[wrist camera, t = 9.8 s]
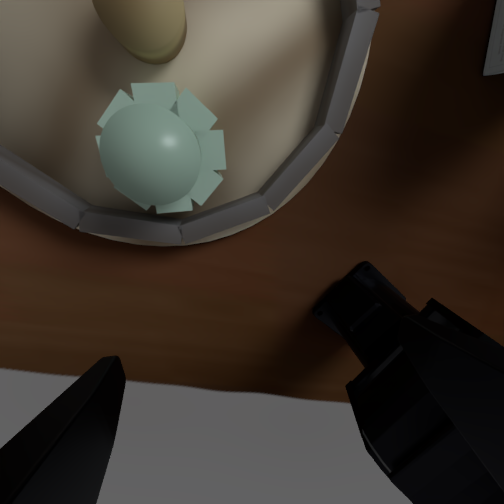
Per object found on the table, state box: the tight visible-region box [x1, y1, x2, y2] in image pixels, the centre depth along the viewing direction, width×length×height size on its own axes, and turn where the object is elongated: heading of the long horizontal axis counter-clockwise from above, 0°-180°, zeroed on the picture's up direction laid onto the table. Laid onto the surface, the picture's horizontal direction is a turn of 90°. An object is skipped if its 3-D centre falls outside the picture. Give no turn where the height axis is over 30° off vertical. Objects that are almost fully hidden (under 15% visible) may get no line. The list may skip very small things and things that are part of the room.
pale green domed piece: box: [95, 82, 226, 214], centre depth 12 cm, size 6×6×6 cm
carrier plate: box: [0, 0, 380, 246], centre depth 12 cm, size 24×24×4 cm
